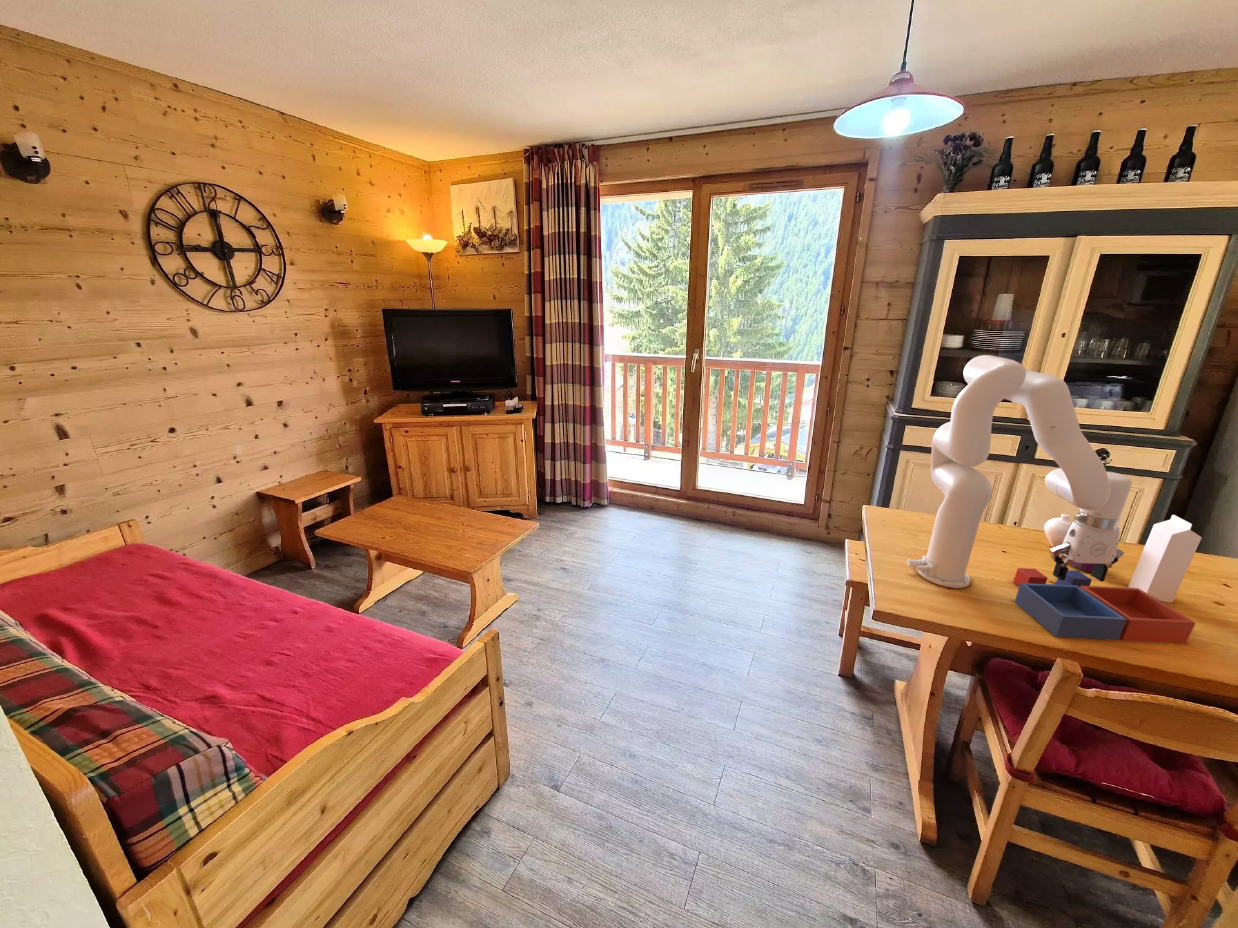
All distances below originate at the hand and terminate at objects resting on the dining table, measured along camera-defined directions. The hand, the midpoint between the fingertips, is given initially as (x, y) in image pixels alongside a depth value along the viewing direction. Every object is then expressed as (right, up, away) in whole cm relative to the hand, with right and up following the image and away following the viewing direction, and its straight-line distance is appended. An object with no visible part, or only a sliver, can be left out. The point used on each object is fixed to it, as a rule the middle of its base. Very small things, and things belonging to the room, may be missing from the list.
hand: (1077, 578), depth 128 cm
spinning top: (+13, +4, +21) cm, 25 cm away
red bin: (0, -8, -12) cm, 14 cm away
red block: (-12, -3, +2) cm, 12 cm away
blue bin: (-14, -7, -11) cm, 19 cm away
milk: (+18, -4, -1) cm, 19 cm away
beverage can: (+13, 0, +12) cm, 18 cm away
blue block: (-1, -3, +1) cm, 4 cm away
